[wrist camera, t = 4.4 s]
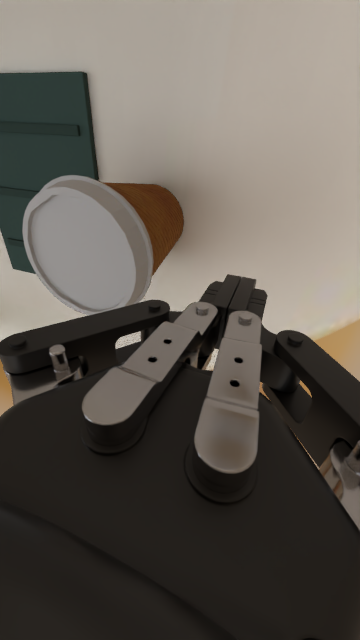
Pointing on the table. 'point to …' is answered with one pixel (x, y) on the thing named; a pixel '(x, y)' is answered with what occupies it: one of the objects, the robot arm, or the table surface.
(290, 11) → the table surface
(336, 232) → the table surface
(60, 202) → the disposable coffee cup
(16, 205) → the mat
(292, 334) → the robot arm
